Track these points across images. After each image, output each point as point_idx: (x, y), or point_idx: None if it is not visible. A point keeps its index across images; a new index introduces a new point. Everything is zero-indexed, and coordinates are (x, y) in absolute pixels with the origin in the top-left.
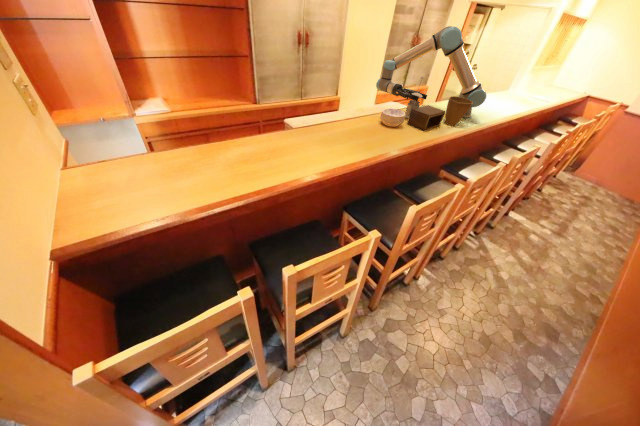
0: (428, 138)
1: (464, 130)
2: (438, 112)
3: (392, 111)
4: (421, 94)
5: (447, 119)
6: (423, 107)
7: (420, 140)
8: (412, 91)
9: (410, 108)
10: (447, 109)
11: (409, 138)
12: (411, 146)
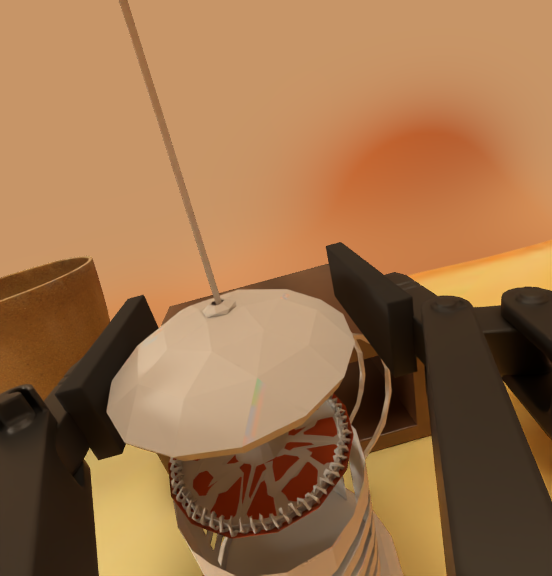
0: None
1: None
2: (244, 288)
3: None
4: (120, 351)
5: None
6: None
7: (452, 279)
8: (38, 548)
9: (386, 411)
10: (73, 354)
11: (510, 285)
12: (524, 250)
